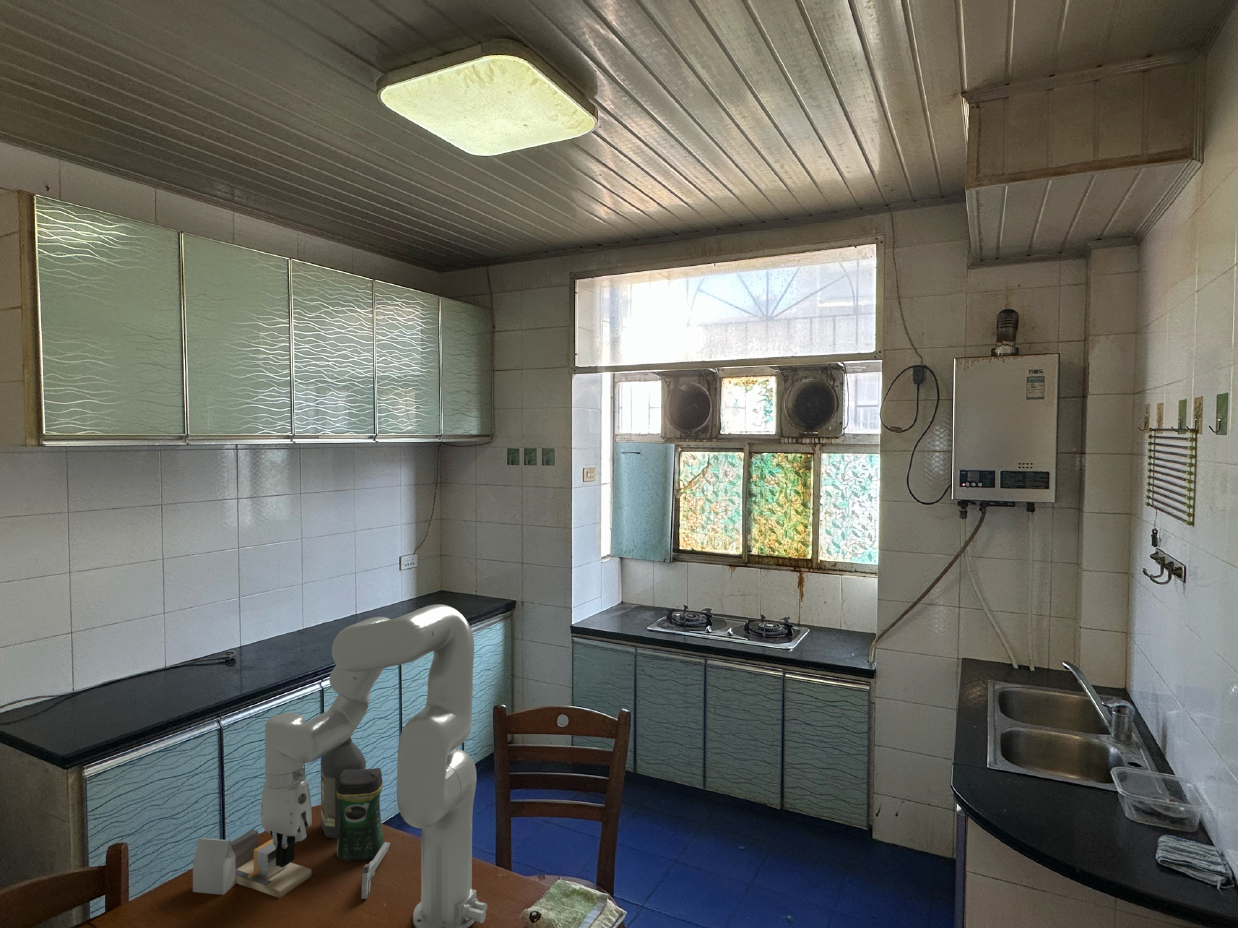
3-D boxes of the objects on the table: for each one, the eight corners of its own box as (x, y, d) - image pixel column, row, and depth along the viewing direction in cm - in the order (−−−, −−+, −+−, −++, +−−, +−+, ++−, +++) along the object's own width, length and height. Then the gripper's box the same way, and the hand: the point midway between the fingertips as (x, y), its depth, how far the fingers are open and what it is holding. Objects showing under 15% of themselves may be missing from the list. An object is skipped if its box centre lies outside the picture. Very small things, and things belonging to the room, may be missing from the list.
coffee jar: (386, 841, 162) (386, 761, 162) (378, 861, 155) (378, 777, 154) (342, 843, 161) (342, 763, 161) (332, 863, 154) (332, 779, 153)
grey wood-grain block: (287, 865, 150) (287, 841, 150) (267, 878, 145) (267, 854, 145) (277, 861, 151) (277, 838, 151) (257, 874, 146) (257, 850, 146)
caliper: (367, 901, 141) (367, 870, 141) (361, 901, 141) (361, 870, 141) (390, 844, 162) (390, 817, 161) (385, 845, 161) (385, 817, 161)
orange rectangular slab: (277, 861, 151) (277, 838, 151) (250, 878, 145) (250, 854, 145) (273, 860, 151) (273, 837, 151) (247, 877, 145) (247, 853, 145)
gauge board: (311, 875, 149) (311, 843, 149) (279, 897, 142) (279, 863, 142) (256, 858, 155) (256, 827, 155) (224, 878, 148) (224, 845, 148)
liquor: (359, 814, 175) (359, 693, 174) (367, 830, 167) (367, 705, 166) (319, 824, 170) (319, 700, 169) (326, 841, 162) (326, 712, 162)
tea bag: (223, 894, 143) (223, 845, 143) (192, 891, 144) (192, 843, 143) (235, 883, 146) (235, 835, 146) (205, 880, 147) (205, 833, 147)
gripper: (326, 774, 147) (326, 861, 147) (274, 761, 153) (273, 845, 153) (297, 790, 140) (297, 881, 140) (243, 776, 146) (243, 864, 146)
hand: (285, 862), depth 146 cm, fingers closed
